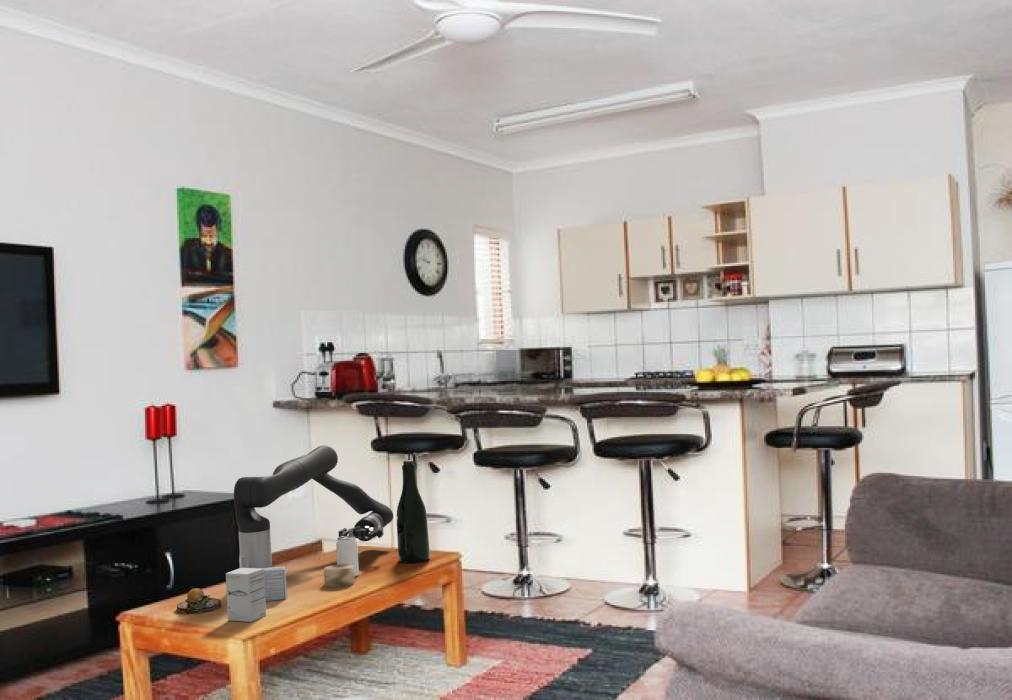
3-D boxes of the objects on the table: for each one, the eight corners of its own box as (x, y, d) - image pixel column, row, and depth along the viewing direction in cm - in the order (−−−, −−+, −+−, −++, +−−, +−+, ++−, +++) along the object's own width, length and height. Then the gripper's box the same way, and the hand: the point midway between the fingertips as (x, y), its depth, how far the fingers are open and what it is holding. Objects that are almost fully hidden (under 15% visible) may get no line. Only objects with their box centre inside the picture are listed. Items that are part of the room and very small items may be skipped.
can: (361, 573, 301) (359, 535, 301) (355, 578, 294) (353, 539, 295) (341, 574, 302) (339, 535, 302) (335, 578, 295) (333, 539, 295)
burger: (229, 607, 267) (228, 580, 268) (193, 617, 258) (191, 589, 258) (204, 602, 275) (202, 576, 275) (167, 611, 265) (166, 584, 266)
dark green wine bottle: (406, 556, 324) (400, 458, 324) (435, 556, 321) (429, 458, 321) (393, 563, 314) (386, 462, 314) (422, 563, 311) (415, 461, 311)
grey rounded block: (327, 589, 282) (327, 572, 282) (322, 583, 291) (321, 566, 291) (357, 585, 286) (357, 568, 286) (351, 579, 294) (350, 562, 294)
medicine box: (287, 596, 276) (285, 565, 276) (286, 599, 271) (284, 569, 271) (258, 598, 274) (257, 568, 275) (257, 602, 270) (256, 571, 270)
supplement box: (226, 621, 251) (224, 573, 251) (244, 613, 258) (241, 566, 258) (250, 622, 248) (248, 573, 248) (267, 615, 255) (264, 567, 255)
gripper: (346, 517, 326) (333, 526, 310) (387, 516, 325) (376, 525, 309) (347, 539, 326) (335, 550, 310) (389, 538, 325) (378, 548, 309)
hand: (356, 537), depth 310 cm, fingers open, 8 cm apart
